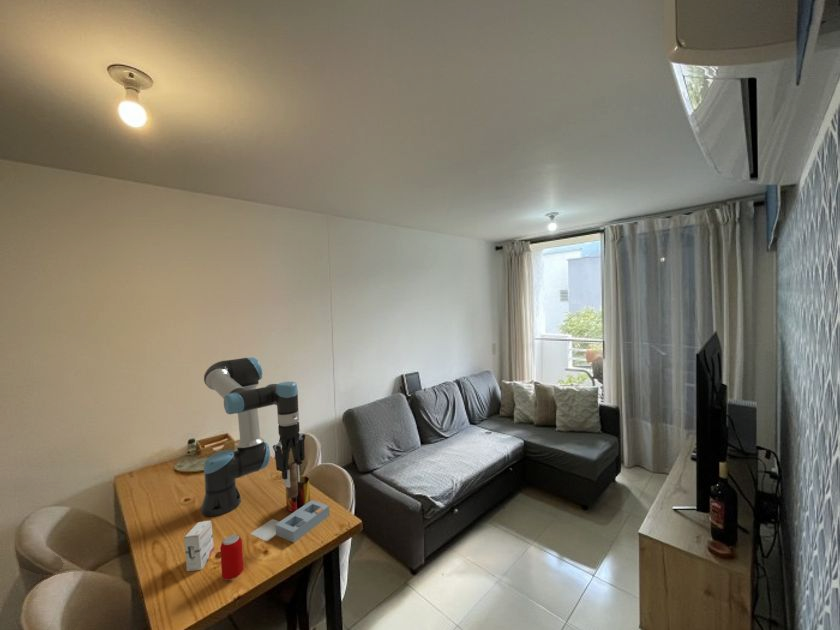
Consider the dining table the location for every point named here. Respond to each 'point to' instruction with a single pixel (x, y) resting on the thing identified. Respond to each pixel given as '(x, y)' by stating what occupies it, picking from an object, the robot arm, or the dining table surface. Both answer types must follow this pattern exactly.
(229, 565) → the beverage can
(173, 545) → the dining table surface
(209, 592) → the dining table surface
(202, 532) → the ink box
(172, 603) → the dining table surface
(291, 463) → the plug
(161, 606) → the dining table surface
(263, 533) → the white flat square
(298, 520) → the socket block
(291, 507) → the mug
